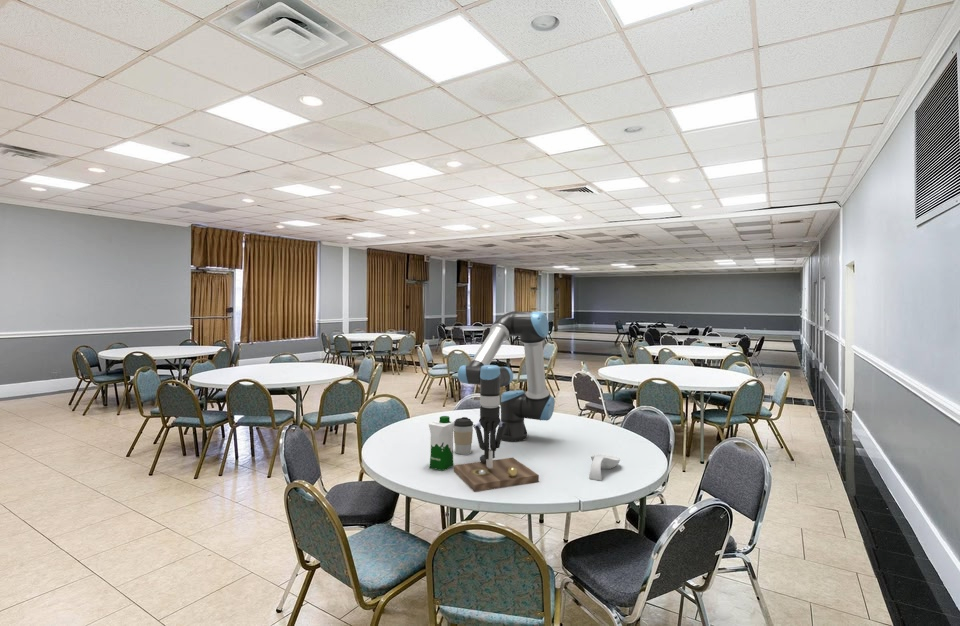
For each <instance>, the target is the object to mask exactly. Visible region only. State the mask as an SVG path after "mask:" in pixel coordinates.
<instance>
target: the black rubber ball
mask: <svg viewBox="0 0 960 626" xmlns="http://www.w3.org/2000/svg"><path fill="white" fill-rule="evenodd" d="M479 462H481V463H486V459H485V458H484V454H481V456H479Z"/></svg>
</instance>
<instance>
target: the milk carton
mask: <svg viewBox="0 0 960 626" xmlns="http://www.w3.org/2000/svg"><path fill="white" fill-rule="evenodd" d="M428 427H429V431H430V433H429V434H430V458H429V468H430V469H435V470H439V471H446V470H448V469H449V468H452V467H454V421H451V420H450V416H449V415H441V416H439V420H436V421H432V422H431V423H428Z"/></svg>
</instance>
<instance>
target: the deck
mask: <svg viewBox="0 0 960 626" xmlns="http://www.w3.org/2000/svg"><path fill="white" fill-rule="evenodd" d="M510 467H515V468H516V469H517V475H516V476H515V477H510V476H509V475H508V469H509V468H510ZM480 470H485V471H486V473H485V474H478V472H479V471H480ZM453 473H455V474H456V475H457V476H458V477H459V478H460V479H461V480H462V481H463V482H464V483H465V484H466V485H467V486H468V487H469V488H470V489H471V490H472V491H473V492H481V491H487V490H493V489H494V488H495V489H501V488H505V487H514V486H520V485H526V484H527V485H528V484H532V483H533V484H534V483H538V482H540V481H539V479H540V476H539V474H538V473H536V472H535V471H533V470H532V469H530V467H527V466H526V465H525V464H523V463H522V462H520V461H519V460H517V459H515V458H514V457H506V458H499V459H493V468H488V467H487V466H486V463H481V461H477V462H475V461H474V462H467V463H460V464H453Z"/></svg>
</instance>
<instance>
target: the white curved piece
mask: <svg viewBox="0 0 960 626" xmlns="http://www.w3.org/2000/svg"><path fill="white" fill-rule="evenodd" d="M590 459H591V461H592V464H591V466H590V471H589V475H588V479H589V480H593V481H602V470H611V468H612V469H613V468H615V467H616V466H619V463H620V461H621V458H620V457H618V456H617V455H616V456H615V455H610V454H603V453H602V454H599V453H598V454H596V453H595V454H592V455H590ZM601 468H603V469H601Z"/></svg>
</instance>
